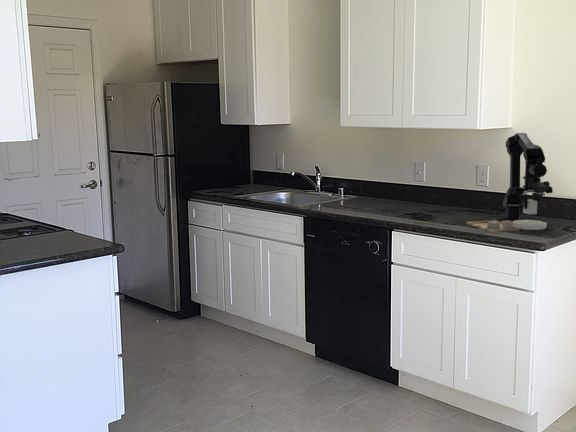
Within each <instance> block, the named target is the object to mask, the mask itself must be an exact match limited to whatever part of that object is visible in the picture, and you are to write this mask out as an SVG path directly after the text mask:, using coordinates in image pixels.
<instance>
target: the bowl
mask: <svg viewBox="0 0 576 432" xmlns="http://www.w3.org/2000/svg"><path fill="white" fill-rule="evenodd" d="M512 222H513V226H515V227H518V228H520V230H525V231H526V230H528V231H529V230H530V231H534V230H535V231H538V230H545V229H546V228H547V225H548V224H547V222H544V221H541V220H534V219H532V220H531V219H522V220H513V221H512Z"/></svg>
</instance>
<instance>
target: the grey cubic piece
mask: <svg viewBox="0 0 576 432" xmlns="http://www.w3.org/2000/svg"><path fill="white" fill-rule="evenodd" d="M501 222H502V229H506V228H513V221H512V220H502V221H501Z"/></svg>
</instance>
